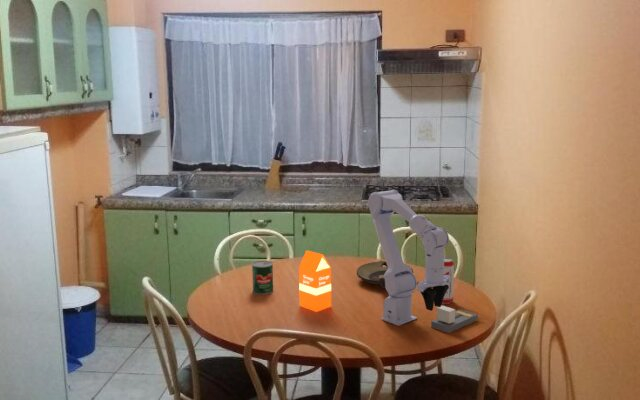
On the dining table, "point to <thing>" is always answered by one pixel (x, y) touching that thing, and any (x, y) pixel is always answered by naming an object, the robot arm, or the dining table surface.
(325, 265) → the orange juice
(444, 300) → the beer can
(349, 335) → the dining table surface
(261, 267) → the canned tomato
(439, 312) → the fader knob
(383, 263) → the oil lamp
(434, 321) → the fader deck
